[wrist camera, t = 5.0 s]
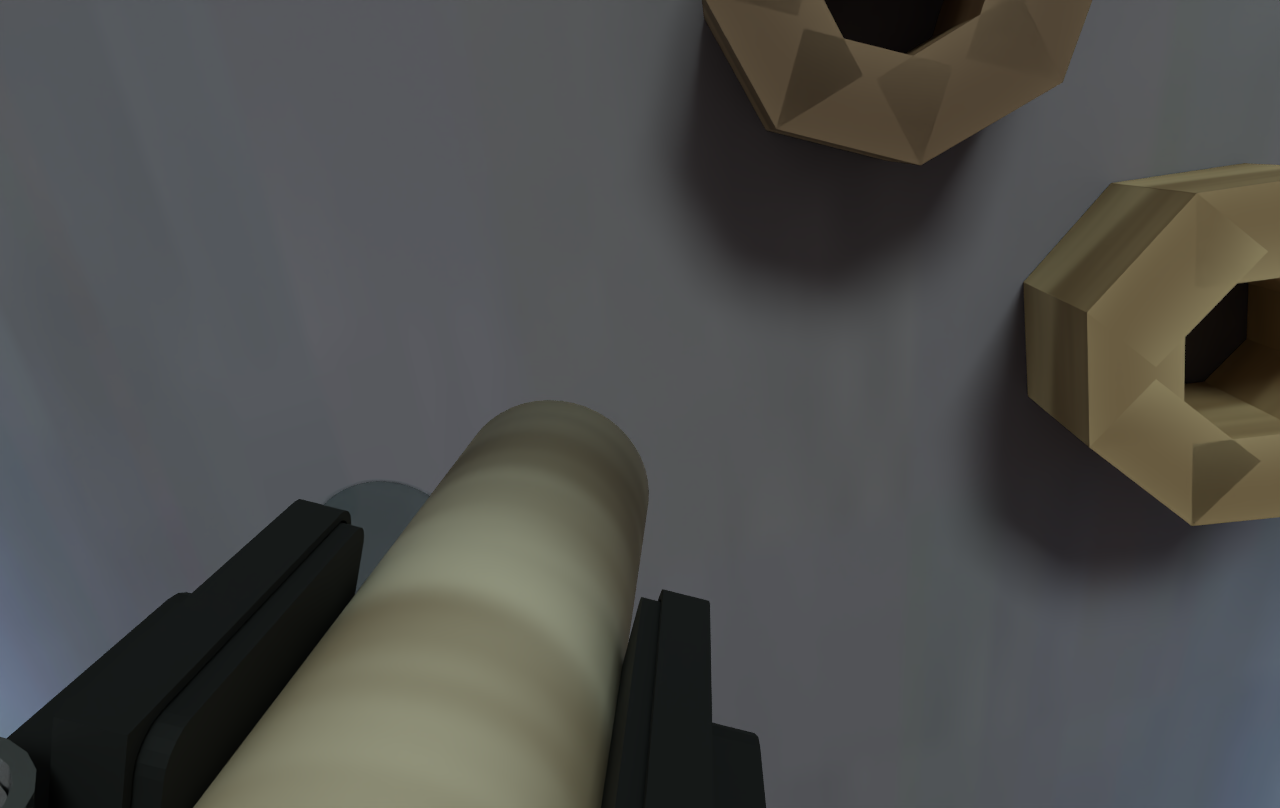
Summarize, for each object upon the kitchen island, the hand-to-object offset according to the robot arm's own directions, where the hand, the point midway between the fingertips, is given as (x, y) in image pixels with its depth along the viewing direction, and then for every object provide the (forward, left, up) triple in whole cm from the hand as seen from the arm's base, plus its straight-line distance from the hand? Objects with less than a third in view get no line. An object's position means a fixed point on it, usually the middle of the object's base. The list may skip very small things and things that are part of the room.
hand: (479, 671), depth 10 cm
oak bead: (+4, -16, -20) cm, 26 cm away
